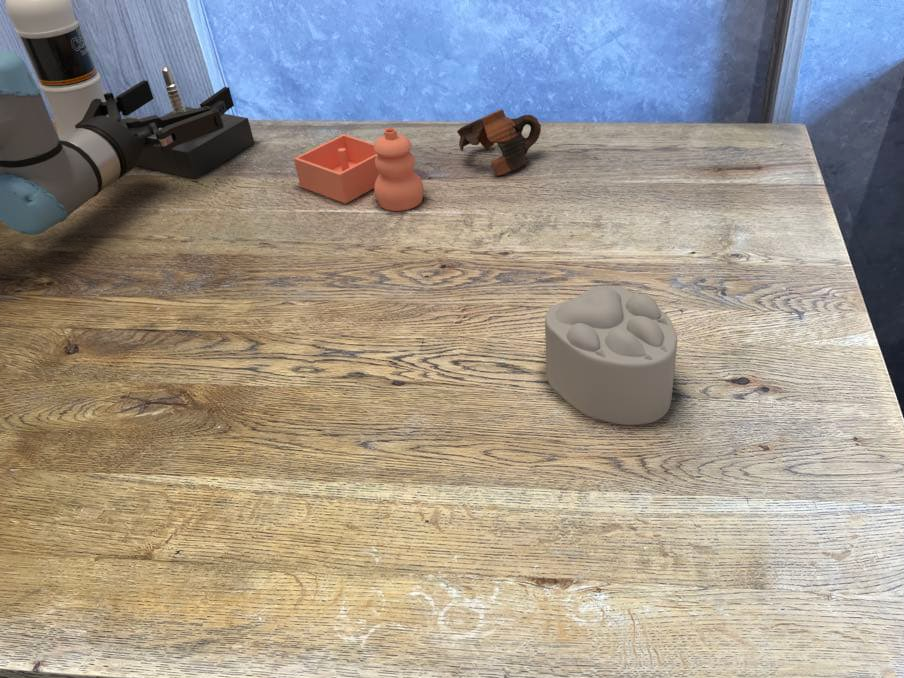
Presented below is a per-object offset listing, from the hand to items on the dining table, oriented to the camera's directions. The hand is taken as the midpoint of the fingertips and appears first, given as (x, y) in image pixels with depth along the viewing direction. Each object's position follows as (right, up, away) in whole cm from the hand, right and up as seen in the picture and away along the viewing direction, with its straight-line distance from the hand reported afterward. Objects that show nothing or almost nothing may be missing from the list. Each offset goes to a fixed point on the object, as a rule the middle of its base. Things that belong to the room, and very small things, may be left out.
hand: (188, 92), depth 121 cm
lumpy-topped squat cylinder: (+59, -44, -40) cm, 84 cm away
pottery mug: (+47, -11, -2) cm, 48 cm away
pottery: (+28, -17, -7) cm, 34 cm away
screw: (-1, -8, +3) cm, 9 cm away
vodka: (-17, -6, +7) cm, 19 cm away
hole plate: (-1, -8, +3) cm, 9 cm away
